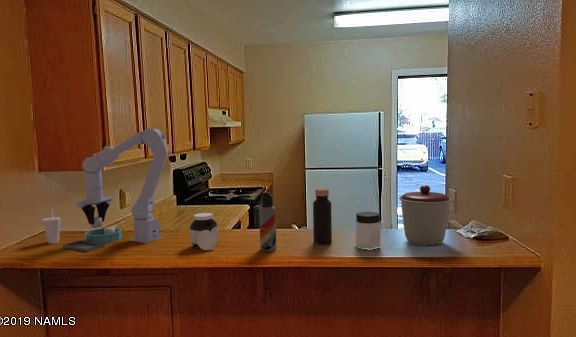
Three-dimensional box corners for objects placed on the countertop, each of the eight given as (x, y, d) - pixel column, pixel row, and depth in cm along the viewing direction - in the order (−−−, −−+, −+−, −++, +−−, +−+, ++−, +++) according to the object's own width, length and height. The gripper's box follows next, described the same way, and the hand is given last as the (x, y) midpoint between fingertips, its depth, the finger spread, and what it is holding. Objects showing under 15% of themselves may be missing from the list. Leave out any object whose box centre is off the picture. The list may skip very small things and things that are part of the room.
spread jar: (207, 241, 164) (206, 211, 163) (228, 245, 158) (227, 214, 156) (183, 248, 154) (181, 217, 153) (204, 253, 148) (203, 220, 147)
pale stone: (117, 235, 172) (116, 227, 172) (109, 238, 169) (108, 229, 168) (110, 234, 174) (110, 226, 174) (102, 237, 170) (101, 228, 170)
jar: (382, 250, 147) (382, 216, 146) (359, 251, 146) (358, 216, 145) (376, 243, 156) (376, 211, 154) (354, 244, 155) (354, 211, 154)
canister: (388, 240, 159) (388, 184, 157) (423, 233, 168) (423, 180, 166) (426, 252, 143) (426, 190, 141) (462, 244, 152) (463, 185, 150)
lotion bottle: (264, 252, 147) (262, 195, 145) (257, 248, 152) (256, 193, 150) (279, 250, 149) (277, 194, 147) (272, 246, 154) (270, 192, 152)
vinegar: (322, 246, 153) (322, 191, 151) (309, 242, 158) (308, 189, 156) (335, 242, 158) (335, 189, 156) (322, 239, 163) (321, 187, 161)
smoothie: (54, 245, 162) (51, 209, 161) (40, 245, 163) (37, 209, 162) (66, 241, 168) (63, 206, 167) (52, 240, 170) (49, 206, 168)
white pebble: (104, 225, 167) (104, 217, 166) (95, 228, 163) (95, 219, 163) (97, 225, 168) (97, 216, 168) (88, 227, 165) (88, 218, 164)
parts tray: (104, 247, 158) (104, 243, 157) (87, 253, 151) (86, 248, 151) (80, 243, 164) (80, 240, 164) (63, 248, 157) (62, 244, 157)
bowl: (128, 237, 171) (128, 229, 171) (101, 246, 160) (100, 236, 160) (106, 234, 177) (106, 226, 177) (78, 242, 166) (77, 233, 166)
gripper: (103, 185, 172) (105, 218, 174) (70, 190, 160) (72, 225, 161) (115, 186, 169) (117, 219, 170) (82, 191, 156) (85, 227, 158)
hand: (96, 222), depth 166 cm, fingers closed on white pebble, 4 cm apart
